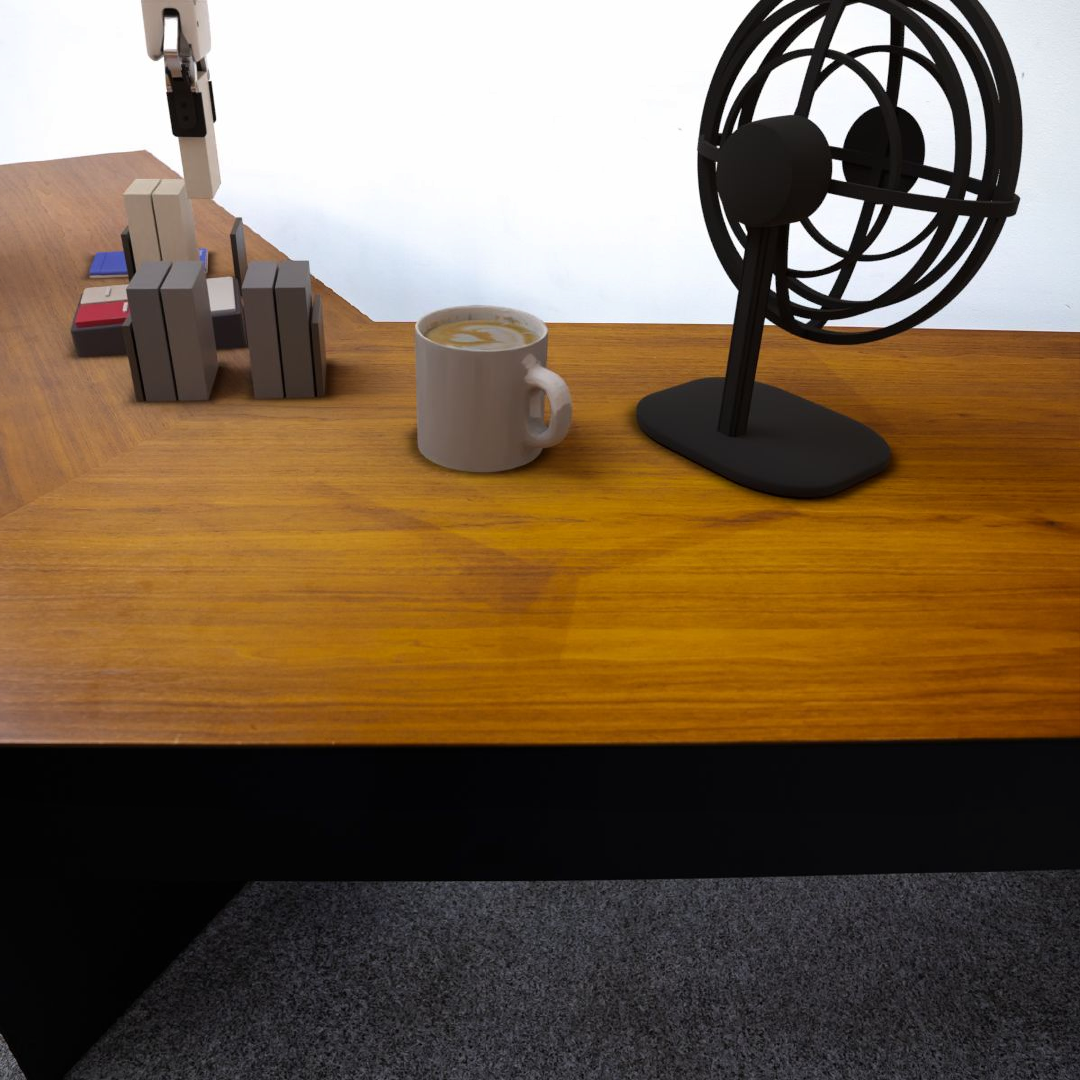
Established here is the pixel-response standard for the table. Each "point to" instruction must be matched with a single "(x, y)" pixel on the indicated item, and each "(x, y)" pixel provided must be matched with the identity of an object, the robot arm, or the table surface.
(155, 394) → the grey books
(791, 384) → the table surface
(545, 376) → the coffee mug
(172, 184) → the white books
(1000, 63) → the desk fan
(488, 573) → the table surface
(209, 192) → the white book
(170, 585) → the table surface
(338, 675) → the table surface
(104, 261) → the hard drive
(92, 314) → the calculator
